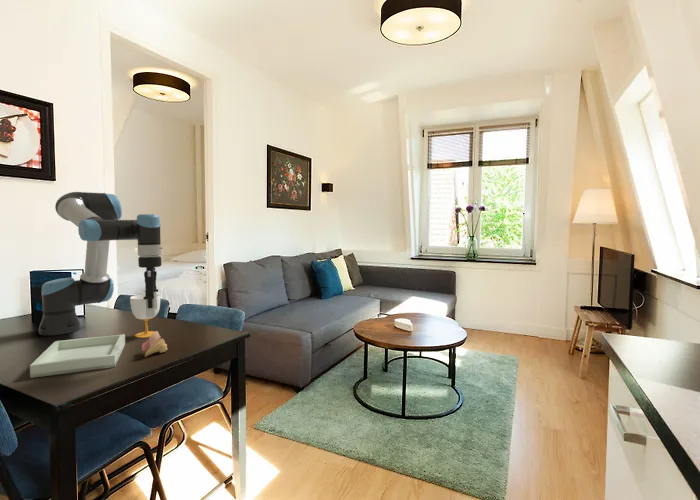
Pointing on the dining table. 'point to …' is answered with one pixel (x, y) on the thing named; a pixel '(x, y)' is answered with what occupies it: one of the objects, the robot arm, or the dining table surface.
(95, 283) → the robot arm
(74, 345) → the tray
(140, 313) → the cup
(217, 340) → the dining table surface
